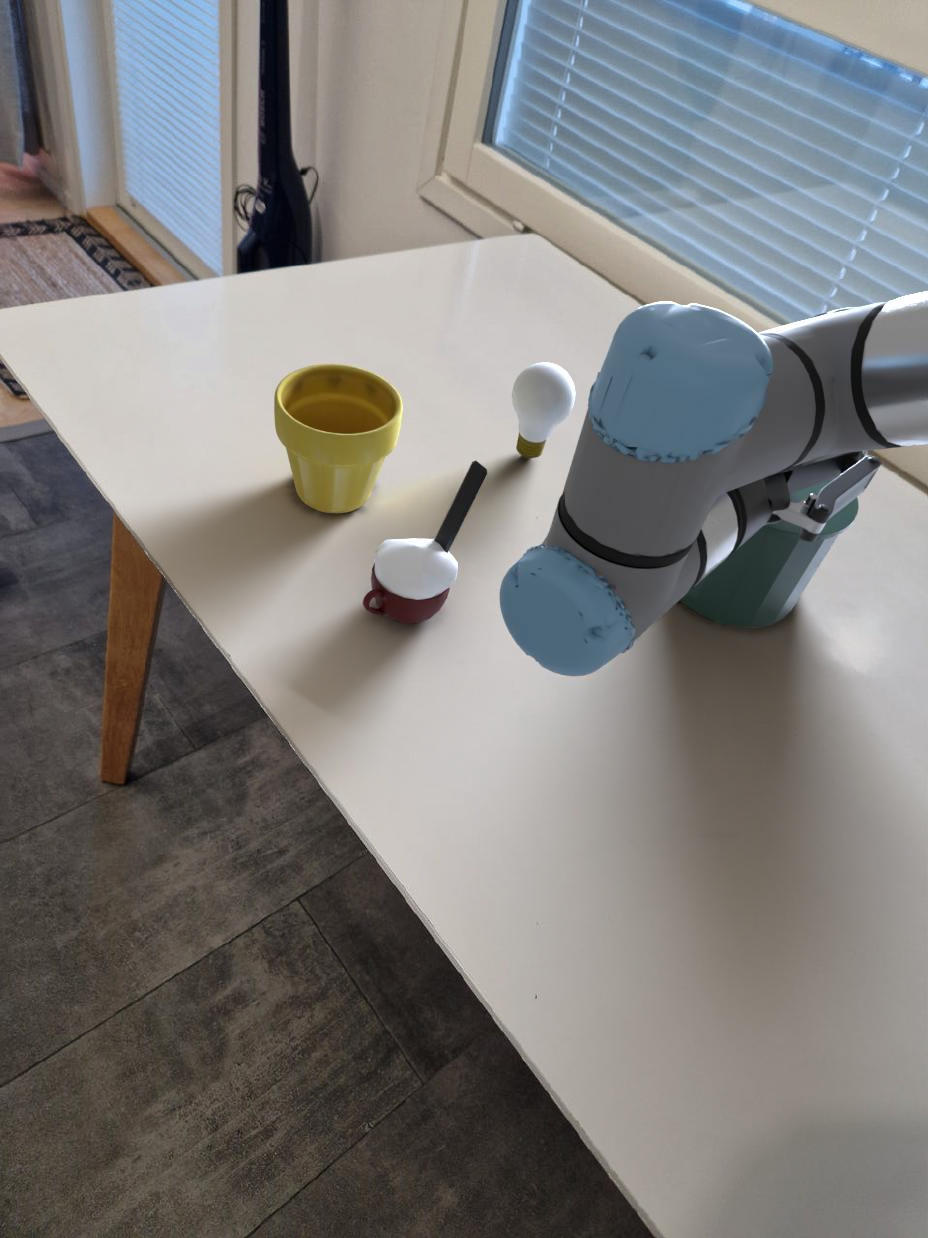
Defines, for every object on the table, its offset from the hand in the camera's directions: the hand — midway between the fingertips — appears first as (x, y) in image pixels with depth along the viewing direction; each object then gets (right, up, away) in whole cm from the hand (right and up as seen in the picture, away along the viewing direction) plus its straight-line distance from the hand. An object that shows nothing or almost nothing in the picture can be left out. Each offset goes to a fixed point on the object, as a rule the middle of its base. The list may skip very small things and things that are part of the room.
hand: (834, 399), depth 69 cm
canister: (-6, -14, +9) cm, 17 cm away
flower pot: (-41, -6, +8) cm, 43 cm away
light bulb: (-23, -1, +17) cm, 29 cm away
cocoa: (-34, -16, 0) cm, 38 cm away
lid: (-4, -6, +1) cm, 8 cm away
